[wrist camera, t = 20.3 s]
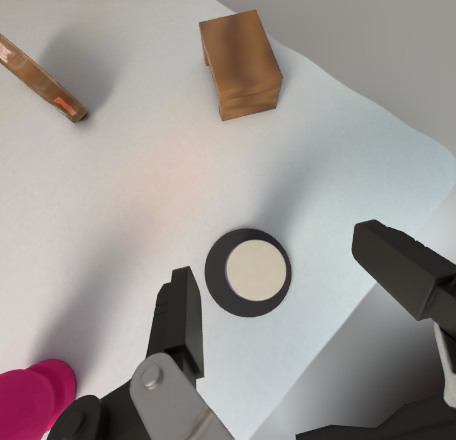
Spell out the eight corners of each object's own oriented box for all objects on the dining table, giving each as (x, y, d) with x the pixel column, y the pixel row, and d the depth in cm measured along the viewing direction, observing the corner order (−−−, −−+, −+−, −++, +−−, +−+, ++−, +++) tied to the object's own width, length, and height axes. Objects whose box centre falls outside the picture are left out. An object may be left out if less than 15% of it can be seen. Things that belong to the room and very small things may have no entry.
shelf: (253, 47, 33) (255, 9, 29) (275, 108, 30) (283, 76, 26) (204, 58, 33) (198, 22, 28) (222, 121, 30) (219, 92, 25)
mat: (275, 220, 26) (276, 219, 26) (301, 303, 24) (303, 304, 23) (197, 240, 26) (196, 239, 25) (216, 326, 24) (215, 327, 23)
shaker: (261, 247, 25) (278, 229, 15) (272, 285, 24) (298, 294, 14) (225, 257, 25) (217, 245, 15) (234, 295, 24) (232, 311, 14)
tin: (99, 122, 31) (51, 68, 23) (83, 136, 30) (27, 86, 22) (40, 72, 34) (-23, 7, 26) (24, 84, 33) (-45, 23, 25)
